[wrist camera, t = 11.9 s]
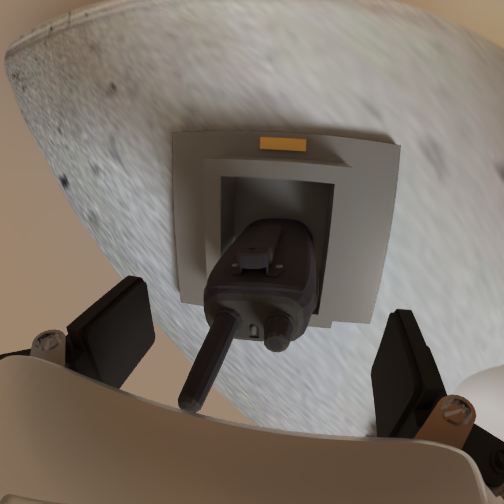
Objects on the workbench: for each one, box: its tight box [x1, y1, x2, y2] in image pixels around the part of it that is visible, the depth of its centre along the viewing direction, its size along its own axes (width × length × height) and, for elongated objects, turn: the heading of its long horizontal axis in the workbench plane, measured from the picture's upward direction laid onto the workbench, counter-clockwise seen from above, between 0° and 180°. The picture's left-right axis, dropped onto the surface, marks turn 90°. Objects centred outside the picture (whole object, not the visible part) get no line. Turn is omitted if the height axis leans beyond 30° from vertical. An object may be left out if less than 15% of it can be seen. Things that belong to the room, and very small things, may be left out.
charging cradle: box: [172, 131, 401, 328], centre depth 20 cm, size 16×14×4 cm
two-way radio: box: [178, 218, 319, 413], centre depth 14 cm, size 6×4×15 cm
